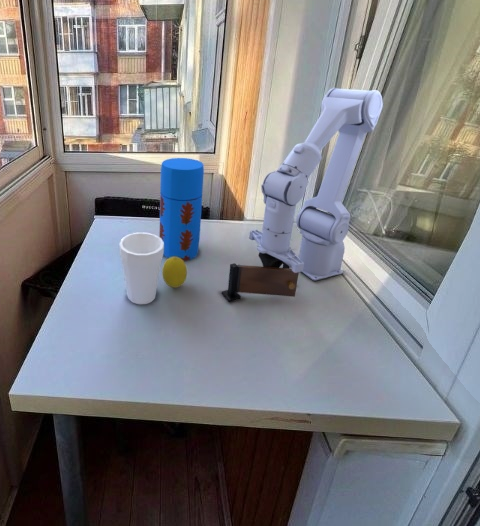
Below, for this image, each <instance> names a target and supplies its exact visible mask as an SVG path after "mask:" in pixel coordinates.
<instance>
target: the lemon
mask: <svg viewBox="0 0 480 526" xmlns="http://www.w3.org/2000/svg"><path fill="white" fill-rule="evenodd" d="M161 272H162V279H163V281H164V283H165V284H166V285H167V286H169V287H171V288H173V289H175V288H179V287H181V286H182V285H184V284H185V282H186V280H187V276H188V270H187V265H186V263H185V261H183V260H182V259H181V258H179V257H176V256H174V257H170V258H167V259H166V260H165V262H164V263H163V265H162V271H161Z"/></svg>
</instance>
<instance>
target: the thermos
mask: <svg viewBox="0 0 480 526" xmlns="http://www.w3.org/2000/svg"><path fill="white" fill-rule="evenodd" d="M204 167H205V166H204V163H203V162H202V161H200V160H197V159H194V158H189V157H173V158H167V159H164V160H163V161H162V162H161V165H160V190H159V191H160V192H159V193H160V194H159V195H160V196H159V232H158V234H159V235H158V237H160V238H161V239H162V241H163V242H164V253H163V257H165V258H167V259H168V258H170V257H174V256H176V257H179V258H181V259H182V260H183V261H184V262H185V261H191V260H192V259H194V258H195V257H197V256H198V252H199V246H200V239H201V238H200V236H201V222H202V221H201V220H202V208H203V207H202V203H203V189H204V174H205V173H204V172H205V169H204Z"/></svg>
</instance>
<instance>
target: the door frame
mask: <svg viewBox="0 0 480 526" xmlns="http://www.w3.org/2000/svg"><path fill="white" fill-rule="evenodd" d="M237 265H238V264H237V263H231V264H229V273H228V274H229V275H228V283H227V284H228V285H227V286H228V287H227V289H226V290H221V295H222V296H223V297H224V298H225V299H226V300H227V302H228V303H231V302H235V301H239V300H242V296H241V295H240V294H239V292H238V293H237V292H235V291H236V282H237V272H238V266H237ZM281 268H289V269H291V267H290V266H288V265H287V264H286V263H283V264H282V267H281Z"/></svg>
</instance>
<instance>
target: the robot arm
mask: <svg viewBox="0 0 480 526" xmlns="http://www.w3.org/2000/svg"><path fill="white" fill-rule="evenodd" d="M383 107H384V103H383V97H382V94H381V92H380V91H379V90H377V89H373V90H364V89H348V88H338V87H331V88H330V89H329V90H328V91H327V92H326V93H325V95H324V97H323V99H322V100H321V106H320V110H321V114H320V116H319V117H318V119H317V120H316V122H315V123H314V125H313V127H312V129H311V130H310V132H309V133H308V135H307V137H306V139H305V140H304V142H300V143H297V144H295V145H294V147H293V148H292V149H291V151H289V153H288V155H287V156H286V157H285V158H284V160H283V161H282V163H281V164H280V165H279V167H278V168H277V170H274V171H270V172H268V173H267V174H266V175H265V177H264V179H263V182H262V184H261V186H260V190H261V193H262V195H263V199H262V200H263V204H264V205H265V206H264V214H263V216H264V217H263V223H262V231H260V230H258V229H253V230H250V231H249V239H250V240H251V241H255V243H256V244H257V246H256V250H257V251H258V258H259V259H260V261H261V264H262V267H275V268H281V266H283V263H286V264H287V265H288V266H290V269H292V271H293V272H294V273H297V272H299V273H302V274H303V275H305V276H306V277H308V278H309V279H310V280H312V281H319V280H323V279H328V278H331V277H334V276H338V275H342V274H344V270H342V269H341V268H342V264H343V259H344V254H345V249H346V248H345V243H344V240H345V238H346V237H347V235H348V233H349V225H350V219H351V214H350V212H349V210H347V208H346V207H345V205H344V204H343V203H342V200H343V198H344V196H345V193H346V191H347V190H346V189H347V187H348V184H349V181H350V179H351V176H352V173H353V171H354V168H355V165H356V162H357V159H358V157H359V154H360V151H361V148H362V146H363V142H364V140H365V137H366V134H367V133H371V132H374V130H375V128H376V126H377V124H378V121H379V118H380V115H381V112H382V110H383ZM337 133H338V135H337V138H336V141H335V144H334V146H333V150H332V153H331V156H330V158H329V162H328V163H327V164H328V165H327V168H326V169H325V173H324V176H323V179H322V181H321V184H320V187H319V190H318V193H317V195H316V196H314V197H311V198H308V199H306V200H305V201H304V203H303V204H302V207H301V208H300V210H299V211H298V213H297V215H296V220H295V214H296V207H297V204H299V203H300V202H301V200H302V199H303V198H304V196H305V193H306V188H307V186H308V185H309V180H308V179H309V178H310V176H311V175H312V174H313V172H314V171H315V169H316V168H317V167H318V165H319V164H320V163H321V161H322V159H323V157H322V153H321V151H322V150H323V149H324V148H325V146H326V145H327V144H328V143H329V142H330V141H331V140H332V138H333V137H334V136H335V135H336V134H337ZM294 221H296V226H297V228H298V229H299V234H301V241H300V242H301V243H300V248H299V253H298V256H297V255H296V253H295V252H294V250H293V249H292V248H291V241H292V240H291V239H292V233H293V225H294Z"/></svg>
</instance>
